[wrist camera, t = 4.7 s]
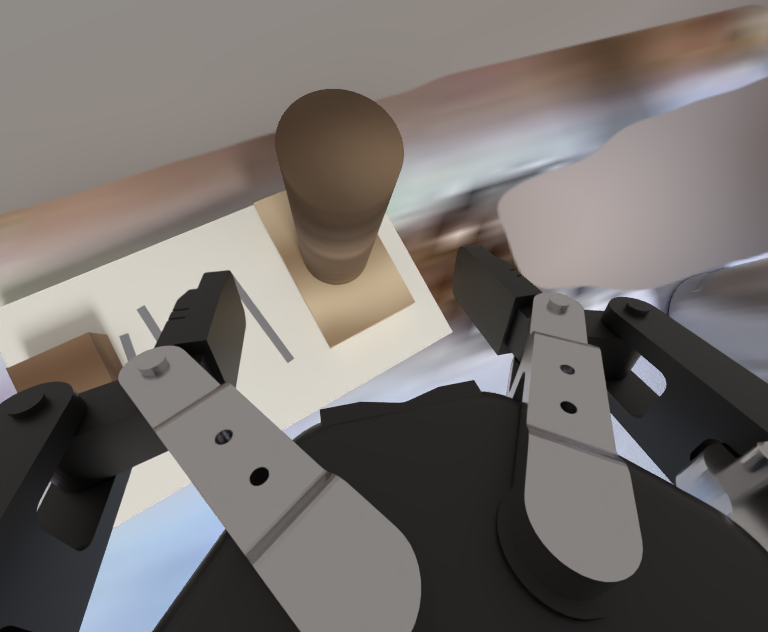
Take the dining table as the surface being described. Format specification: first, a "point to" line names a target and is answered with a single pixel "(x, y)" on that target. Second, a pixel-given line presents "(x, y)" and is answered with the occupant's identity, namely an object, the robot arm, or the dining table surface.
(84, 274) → the board
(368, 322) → the block
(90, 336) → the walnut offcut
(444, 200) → the dining table surface
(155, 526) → the dining table surface
